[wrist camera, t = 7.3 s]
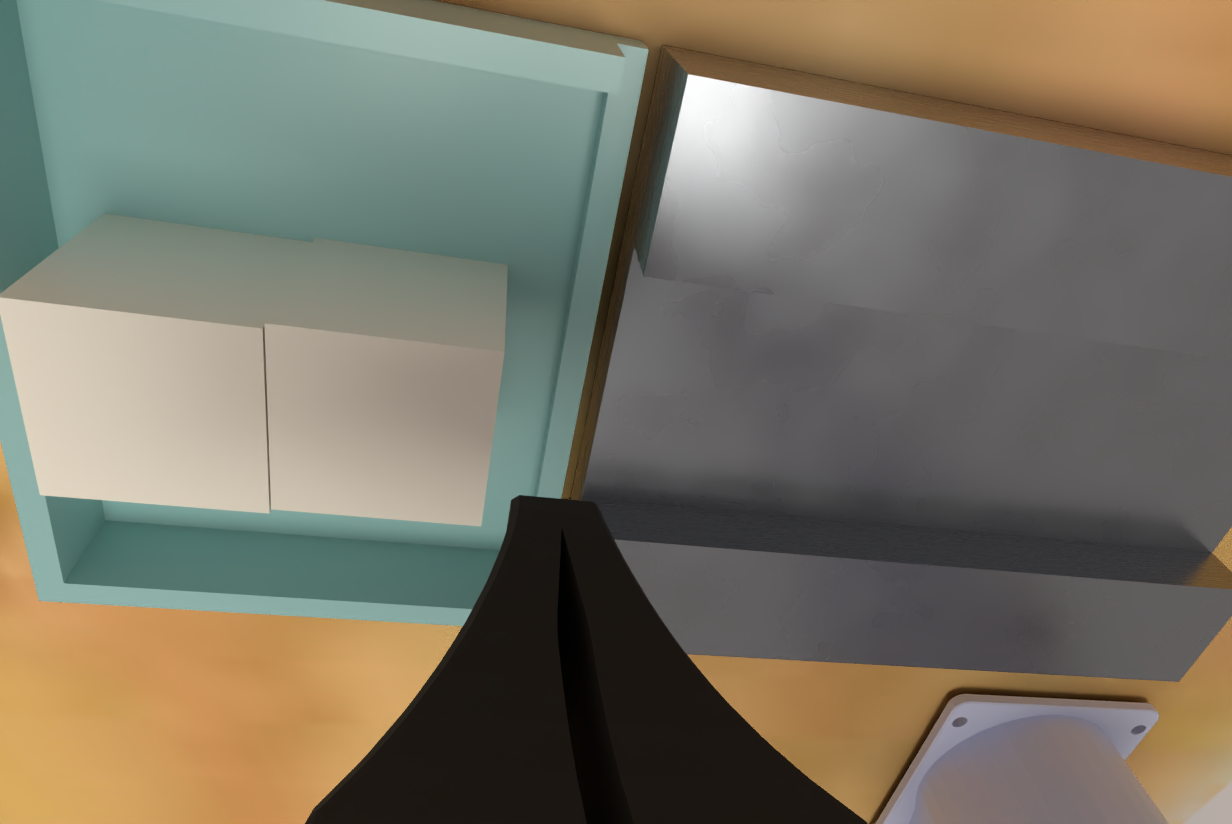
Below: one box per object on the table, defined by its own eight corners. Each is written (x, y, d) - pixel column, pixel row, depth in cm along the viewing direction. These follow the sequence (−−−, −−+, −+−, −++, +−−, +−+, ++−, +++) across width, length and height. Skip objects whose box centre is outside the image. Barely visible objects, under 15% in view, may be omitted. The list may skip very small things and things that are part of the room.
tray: (542, 563, 23) (544, 630, 21) (87, 528, 21) (38, 600, 19) (642, 41, 16) (659, 63, 14) (-28, -90, 14) (-127, -85, 12)
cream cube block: (488, 418, 20) (480, 526, 16) (315, 400, 19) (271, 509, 16) (507, 264, 18) (504, 352, 14) (314, 237, 17) (263, 323, 14)
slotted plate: (1115, 605, 26) (1178, 681, 24) (557, 564, 23) (561, 647, 20) (1404, 189, 19) (1538, 234, 17) (662, 44, 16) (687, 74, 13)
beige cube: (313, 404, 19) (269, 513, 16) (127, 384, 18) (40, 494, 15) (312, 242, 17) (262, 329, 14) (104, 213, 16) (-4, 296, 13)
